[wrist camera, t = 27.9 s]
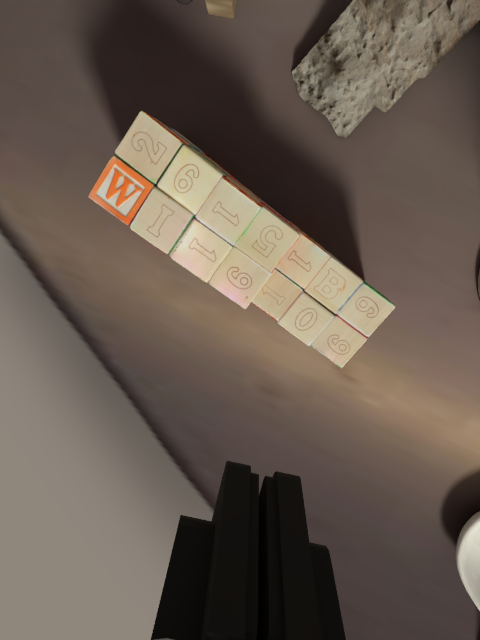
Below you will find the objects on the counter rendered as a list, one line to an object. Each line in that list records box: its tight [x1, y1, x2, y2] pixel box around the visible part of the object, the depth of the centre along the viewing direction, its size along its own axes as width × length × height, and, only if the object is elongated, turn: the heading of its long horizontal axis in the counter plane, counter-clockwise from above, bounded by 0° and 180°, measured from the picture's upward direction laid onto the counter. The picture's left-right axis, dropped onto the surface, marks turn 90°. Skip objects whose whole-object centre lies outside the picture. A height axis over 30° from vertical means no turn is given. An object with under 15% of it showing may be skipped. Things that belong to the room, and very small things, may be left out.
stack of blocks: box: [89, 111, 395, 368], centre depth 34 cm, size 21×6×12 cm, turn 53°
